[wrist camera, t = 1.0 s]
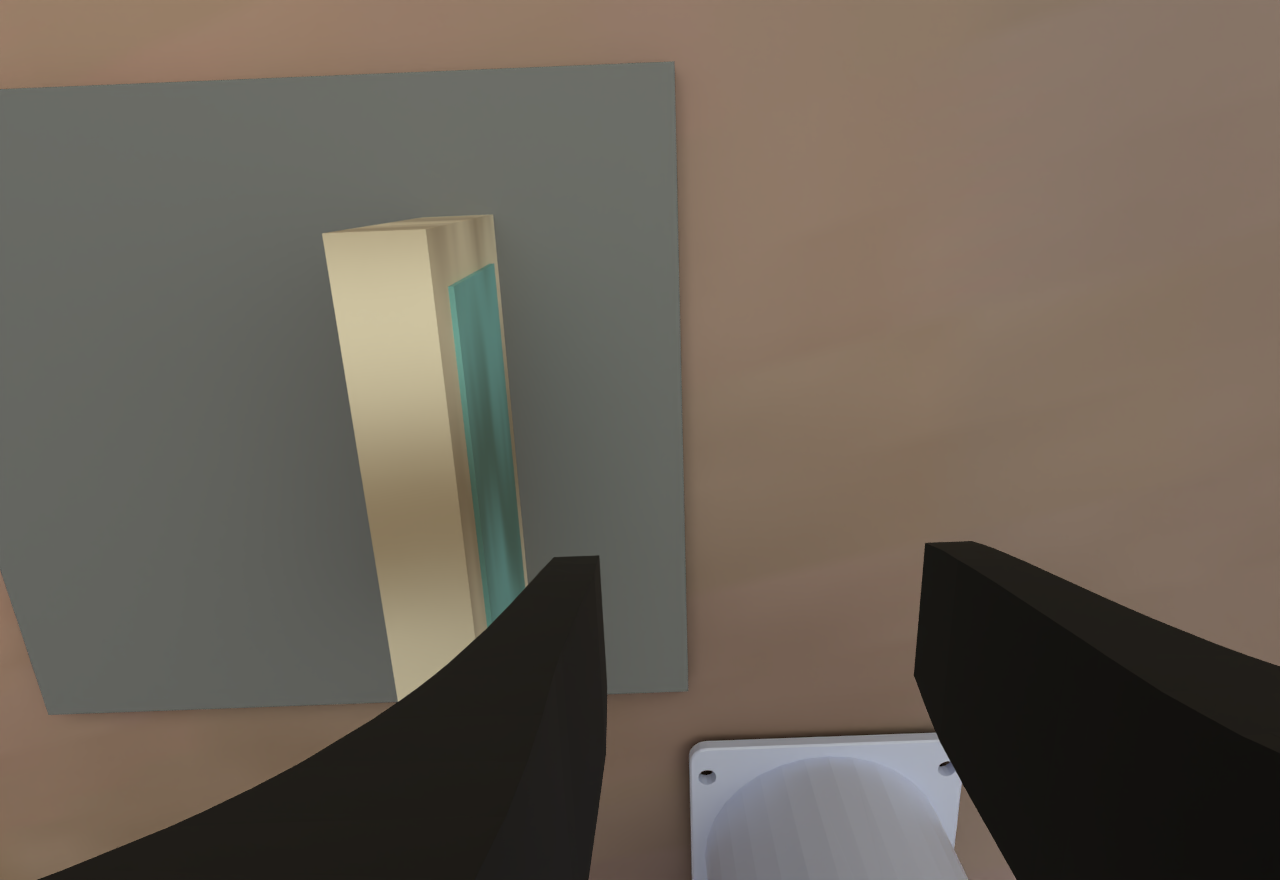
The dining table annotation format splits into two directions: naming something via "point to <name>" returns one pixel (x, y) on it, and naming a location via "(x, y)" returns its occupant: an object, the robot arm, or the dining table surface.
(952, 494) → the dining table surface
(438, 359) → the slab
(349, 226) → the mat
